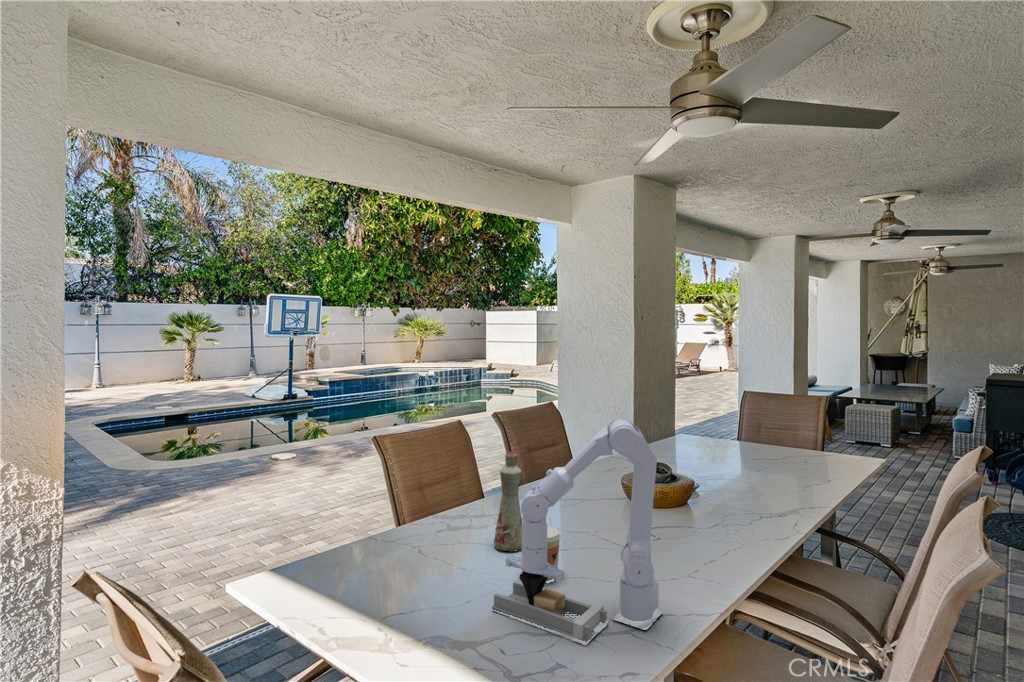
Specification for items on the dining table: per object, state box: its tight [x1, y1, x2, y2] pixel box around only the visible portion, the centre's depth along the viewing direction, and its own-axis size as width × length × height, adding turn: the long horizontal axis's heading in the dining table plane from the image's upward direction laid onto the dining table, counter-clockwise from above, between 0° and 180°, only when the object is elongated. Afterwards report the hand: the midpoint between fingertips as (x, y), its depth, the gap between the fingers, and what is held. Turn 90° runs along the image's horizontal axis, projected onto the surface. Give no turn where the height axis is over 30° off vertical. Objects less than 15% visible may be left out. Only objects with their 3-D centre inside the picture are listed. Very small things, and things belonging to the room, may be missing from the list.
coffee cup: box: [547, 525, 561, 581], centre depth 147 cm, size 9×9×12 cm
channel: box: [491, 580, 608, 642], centre depth 127 cm, size 10×24×4 cm, turn 55°
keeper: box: [534, 587, 566, 615], centre depth 127 cm, size 5×5×4 cm
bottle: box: [493, 451, 523, 552], centre depth 166 cm, size 9×9×28 cm
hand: (534, 604), depth 129 cm, fingers closed
